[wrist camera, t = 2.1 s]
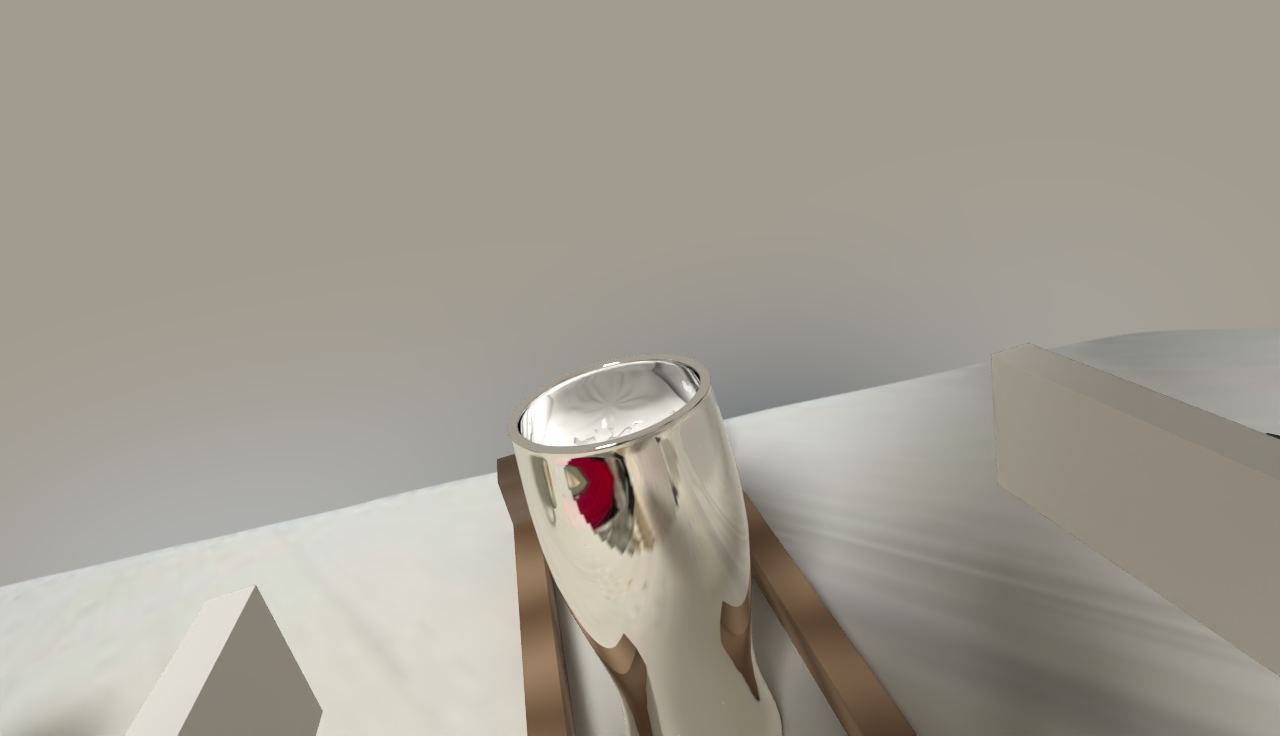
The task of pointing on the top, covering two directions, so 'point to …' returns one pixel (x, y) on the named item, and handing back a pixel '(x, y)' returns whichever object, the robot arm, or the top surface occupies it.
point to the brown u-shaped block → (804, 616)
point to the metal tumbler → (649, 540)
